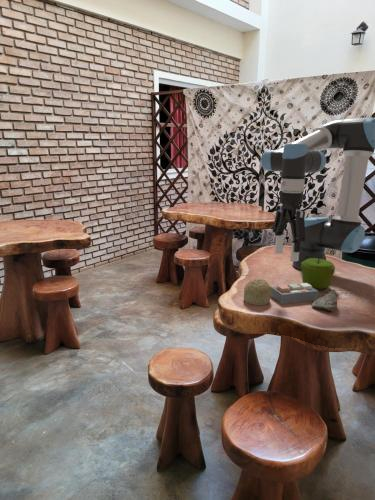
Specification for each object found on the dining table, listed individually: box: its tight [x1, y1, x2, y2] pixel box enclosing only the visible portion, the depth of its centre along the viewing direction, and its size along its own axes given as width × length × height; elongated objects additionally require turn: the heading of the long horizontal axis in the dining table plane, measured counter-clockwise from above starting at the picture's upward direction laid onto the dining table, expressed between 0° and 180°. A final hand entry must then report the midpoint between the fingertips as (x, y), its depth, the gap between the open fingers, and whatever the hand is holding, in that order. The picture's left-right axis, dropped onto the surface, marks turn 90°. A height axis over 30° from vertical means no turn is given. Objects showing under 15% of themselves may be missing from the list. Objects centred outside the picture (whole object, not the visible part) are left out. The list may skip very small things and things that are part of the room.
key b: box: [287, 283, 301, 291], centre depth 129 cm, size 3×3×2 cm
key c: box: [277, 284, 290, 293], centre depth 128 cm, size 3×3×2 cm
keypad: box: [271, 283, 319, 305], centre depth 130 cm, size 14×8×4 cm, turn 106°
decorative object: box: [243, 278, 272, 306], centre depth 126 cm, size 9×10×10 cm
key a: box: [298, 282, 312, 290], centre depth 130 cm, size 3×3×2 cm
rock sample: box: [311, 288, 338, 313], centre depth 121 cm, size 10×8×9 cm
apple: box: [300, 258, 336, 290], centre depth 140 cm, size 12×12×11 cm
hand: (286, 257), depth 125 cm, fingers open, 9 cm apart
